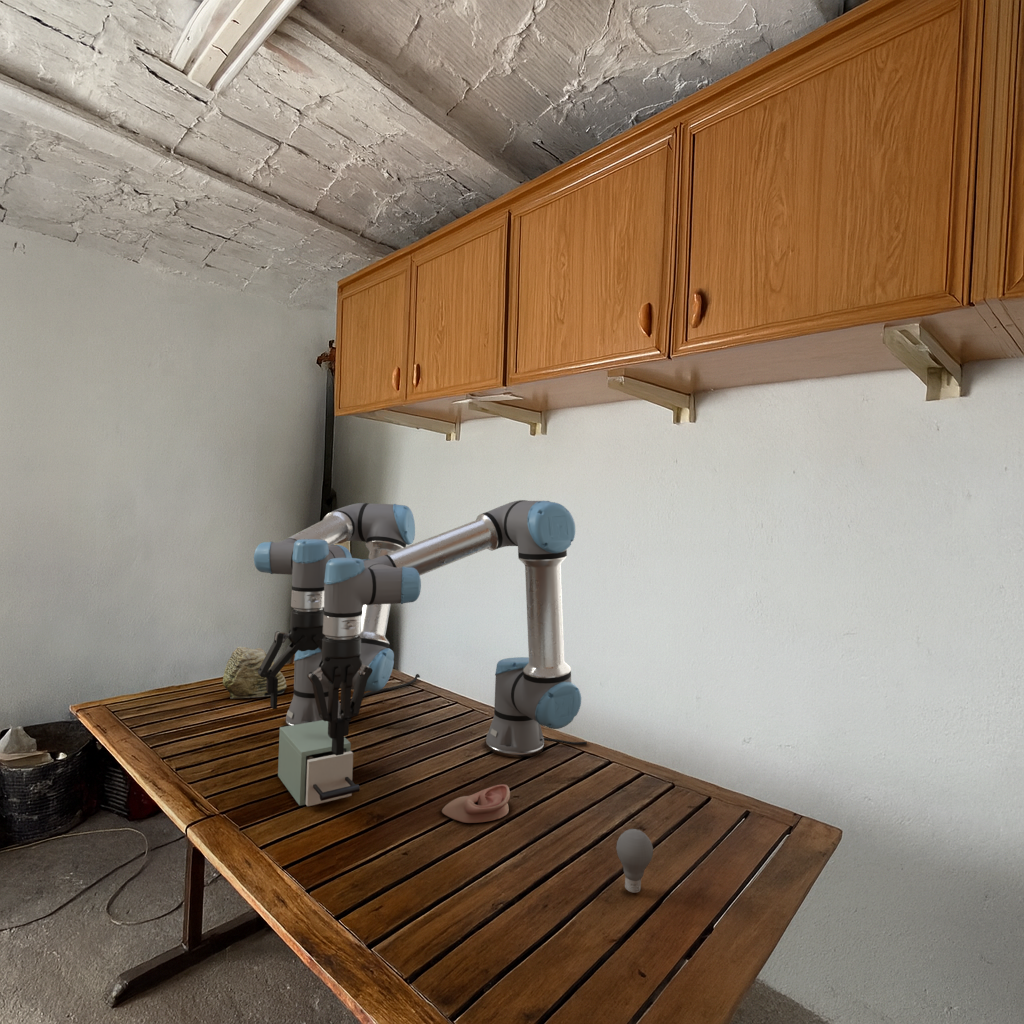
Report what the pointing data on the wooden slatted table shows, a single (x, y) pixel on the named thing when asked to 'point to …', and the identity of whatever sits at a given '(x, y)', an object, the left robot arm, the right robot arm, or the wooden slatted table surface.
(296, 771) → the cabinet
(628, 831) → the light bulb
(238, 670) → the fossil
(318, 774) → the drawer
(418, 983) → the wooden slatted table surface
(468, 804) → the anatomical model
